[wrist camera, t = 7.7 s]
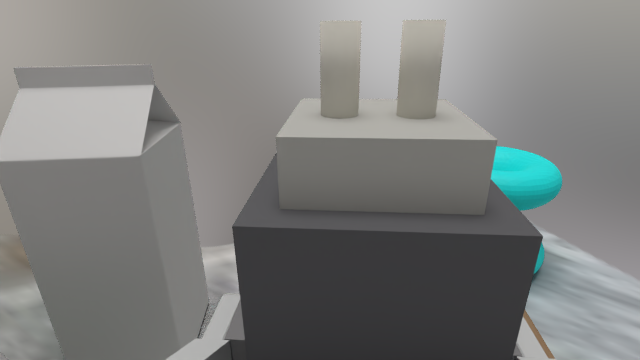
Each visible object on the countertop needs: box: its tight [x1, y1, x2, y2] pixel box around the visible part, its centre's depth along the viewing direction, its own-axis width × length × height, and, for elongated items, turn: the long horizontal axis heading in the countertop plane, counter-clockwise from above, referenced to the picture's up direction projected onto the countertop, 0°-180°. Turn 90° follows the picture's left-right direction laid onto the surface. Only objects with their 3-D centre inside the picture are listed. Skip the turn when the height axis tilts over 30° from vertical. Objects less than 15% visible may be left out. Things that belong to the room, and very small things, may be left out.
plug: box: [232, 20, 543, 360], centre depth 9 cm, size 4×4×13 cm
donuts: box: [491, 146, 562, 273], centre depth 34 cm, size 10×10×10 cm
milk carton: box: [0, 64, 209, 360], centre depth 24 cm, size 7×7×19 cm
